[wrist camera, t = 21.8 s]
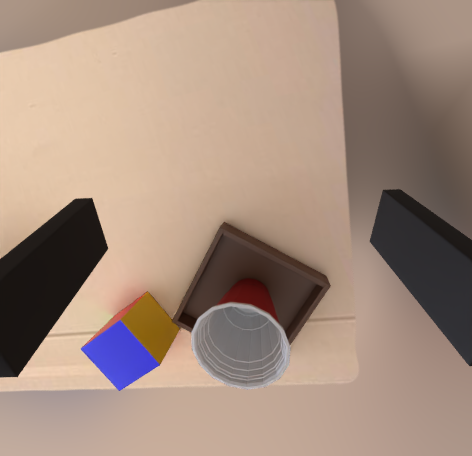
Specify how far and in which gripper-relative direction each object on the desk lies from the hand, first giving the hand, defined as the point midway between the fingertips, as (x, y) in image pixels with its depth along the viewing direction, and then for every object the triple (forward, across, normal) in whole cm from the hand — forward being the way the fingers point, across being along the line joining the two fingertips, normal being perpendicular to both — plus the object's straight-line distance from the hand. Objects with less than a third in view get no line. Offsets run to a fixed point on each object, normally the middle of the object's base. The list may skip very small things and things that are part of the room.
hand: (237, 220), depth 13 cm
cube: (+20, -15, -29) cm, 38 cm away
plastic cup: (+19, +1, -23) cm, 30 cm away
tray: (+19, +1, -23) cm, 30 cm away
